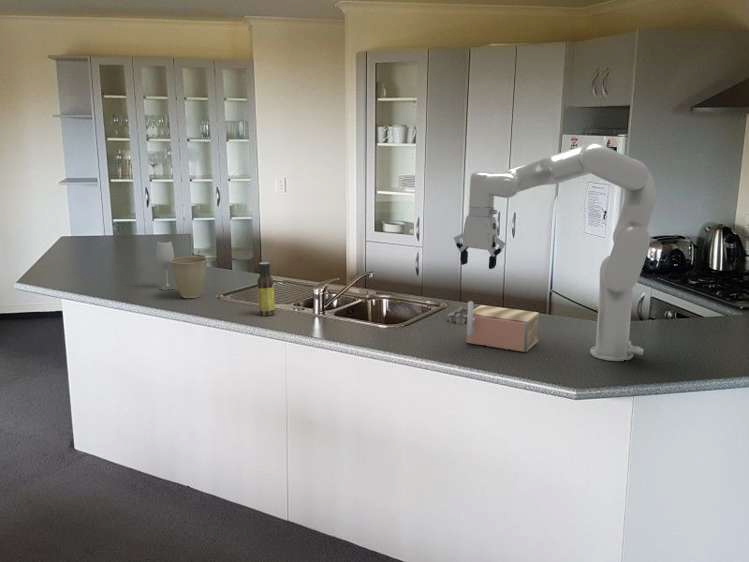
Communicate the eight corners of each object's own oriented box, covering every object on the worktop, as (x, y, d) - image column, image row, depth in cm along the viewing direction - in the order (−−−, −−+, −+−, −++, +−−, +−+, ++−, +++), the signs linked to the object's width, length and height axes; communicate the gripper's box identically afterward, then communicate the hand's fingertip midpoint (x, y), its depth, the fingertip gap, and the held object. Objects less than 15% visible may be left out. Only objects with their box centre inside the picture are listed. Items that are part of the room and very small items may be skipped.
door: (527, 351, 220) (529, 306, 217) (522, 355, 216) (524, 309, 213) (467, 341, 230) (468, 298, 227) (462, 345, 226) (463, 301, 223)
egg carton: (463, 316, 263) (463, 305, 262) (479, 320, 257) (479, 309, 256) (444, 321, 256) (444, 310, 255) (460, 325, 250) (460, 314, 249)
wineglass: (155, 290, 305) (151, 242, 300) (163, 286, 312) (160, 240, 308) (171, 291, 304) (168, 243, 299) (179, 287, 311) (176, 240, 306)
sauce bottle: (278, 314, 266) (276, 262, 262) (265, 317, 262) (262, 265, 257) (268, 311, 271) (266, 260, 266) (255, 314, 266) (253, 262, 262)
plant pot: (195, 302, 284) (193, 264, 280) (165, 299, 289) (162, 261, 286) (216, 294, 297) (214, 257, 294) (187, 291, 303) (184, 255, 299)
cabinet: (537, 341, 231) (538, 312, 228) (525, 352, 220) (527, 321, 218) (480, 333, 240) (481, 305, 238) (466, 342, 230) (467, 313, 228)
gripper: (511, 213, 215) (508, 268, 219) (461, 208, 224) (459, 260, 228) (501, 216, 209) (497, 272, 213) (450, 210, 218) (447, 264, 222)
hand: (477, 266), depth 221 cm, fingers open, 9 cm apart
